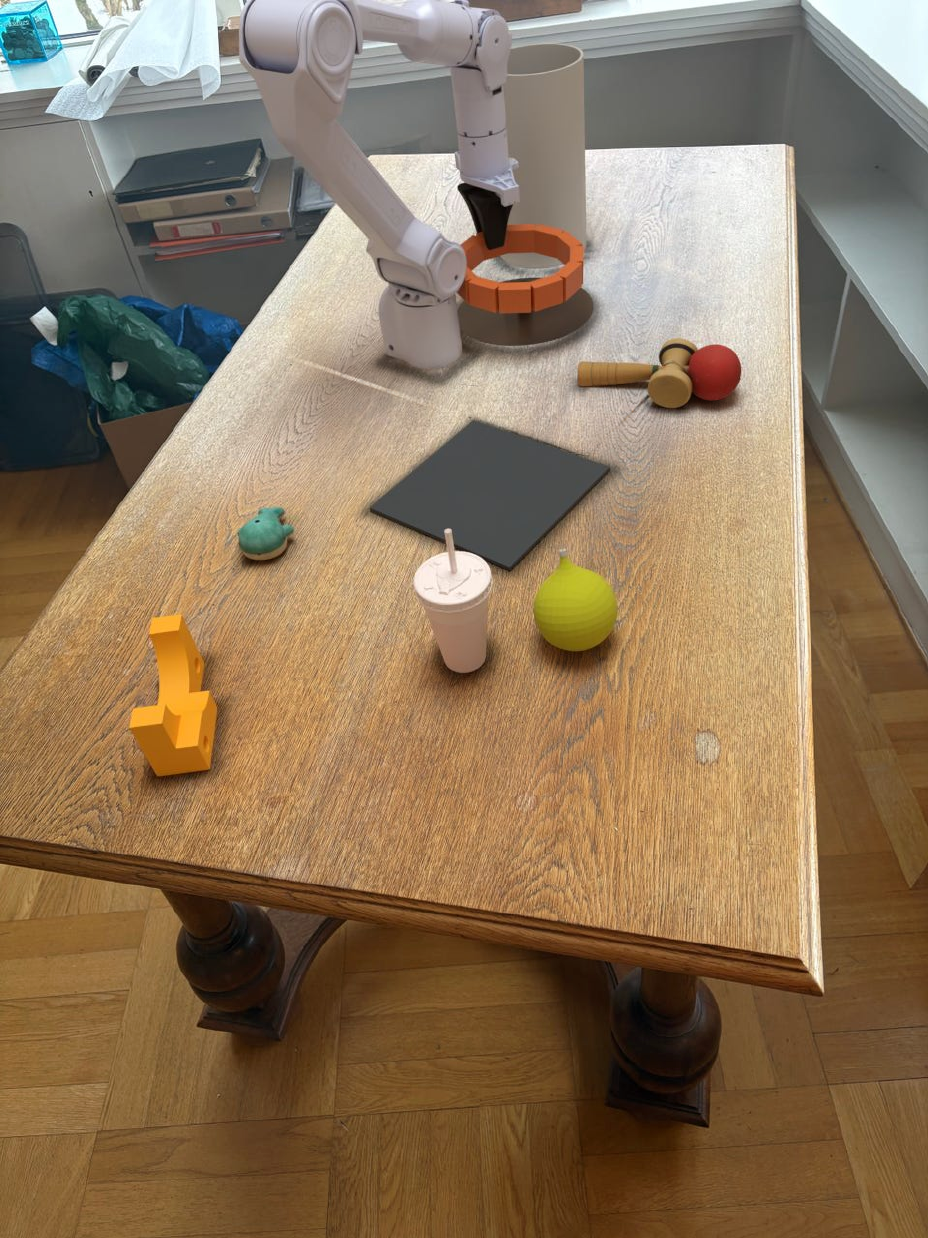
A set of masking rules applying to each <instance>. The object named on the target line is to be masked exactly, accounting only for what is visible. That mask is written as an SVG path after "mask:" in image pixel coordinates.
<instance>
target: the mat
mask: <svg viewBox="0 0 928 1238" xmlns="http://www.w3.org/2000/svg"><path fill="white" fill-rule="evenodd" d="M610 471H611V467H610V466H609V465H606V464H603V463H600V462H598V461H594V460H592V459H589V458H586V457H583V456H580V455H578V454H574V453H571V452H568V451H565V450H562V449H560V448H556V447H553V446H550V445H547V444H545V443H542V442H538V441H536V440H533V439H530V438H527V437H524V436H522V435H518V434H515V433H513V432H510V431H507V430H504V429H501V428H498V427H495V426H492V425H489V424H486V423H484V422H481V421H477V420H475V419H472V420H471V421H470V422H469V423H468V424H466V425H465V426H464V427H463V428H462V429H461V430H459V431H458V432H457V433H456V434H454V436H452V437H451V438H450V439H448V441H446V442H445V443H444V444H443V445H441V446H440V447H439V448H438V449H436V451H435V452H433V453H432V454H431V455H430V456H429V457H428V458H426V459H425V460H424V461H423V462H422V463H420V464H419V465H418V466H416V467H415V468H414V469H413V470H412V471H411V472H410V473H408V474H407V475H406V476H405V477H404V478H402V480H400V481H399V482H398V483H397V484H395V485H394V486H393V487H392V488H391V489H390V490H388V491H386V493H385V494H384V495H383V496H381V497H380V498H378V500H377V501H375V502H374V503H373V504H372V505H370V506H369V510H370V512H372V513H374V514H376V515H379V516H381V517H383V518H385V519H388V520H390V521H393V522H395V523H397V524H399V525H402V526H405V527H406V528H408V529H412V530H414V531H416V532H418V533H421V534H423V535H425V536H428V537H430V538H432V539H435V540H437V541H439V542H442V543H444V544H446V538H445V532H444V531H445V530H446V529H451V530H452V537H453V543H454V549H458V550H459V551H462V552H469V553H472V554H475V555H477V556H479V557H481V558H482V559H483V560H485V561H486V562H488V563H490V564H492V565H495V566H497V567H500V568H502V569H505V570H507V571H509V572H511V571H512V570H513V569H514V568H515V567H516V566H517V565H518V564H519V563H520V562H521V561H522V560H523V559H524V558H525V557H526V556H527V555H528V554H529V553H530V552H531V551H532V550H533V549H534V548H535V547H536V546H537V545H538V544H539V542H540V541H542V540H543V539H544V538H545V537H546V535H548V533H550V531H552V530H553V529H554V527H556V526H557V524H558V523H560V521H561V520H563V518H565V516H566V515H568V513H569V512H571V510H572V509H573V508H575V506H576V505H577V504H578V503H580V501H581V500H582V499H583V498H584V497H585V496H586V495H587V494H588V493H589V492H590V491H591V490H592V489H593V488H594V487H595V486H596V485H597V484H598V483H599V482H600V481H601V480H602V479H603V478H605V476H606V475H607V474H608V473H609V472H610Z"/></svg>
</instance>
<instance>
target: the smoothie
mask: <svg viewBox="0 0 928 1238" xmlns="http://www.w3.org/2000/svg"><path fill="white" fill-rule="evenodd" d="M444 532H445V538H446V543H445V544H446V550H447V551H445V552H441V553H439V554H436V555H433V556H432V557H429V558H428V559H426V560H425V561H424V562H423V563H421V565H420V566H419V567H418V568H417V569H416V571H415V573H414V576H413V586H414V587H413V588H414V595H415V597H416V599H417V601H418V602H419V603H420V604H421V606H423V608H424V611H425V613H426V617H427V619H428V622H429V624H430V627H431V629H432V632H433V635H434V638H435V640H436V644H437V646H438V648H439V651H440V653H441V654H440V655H441V656H442V659H443V661H444V664H445V665H446V667H447V668H448V669H449V670H451V671H453V672H455V673H460V674H464V673H465V674H466V673H471V672H474V671H476V670H478V669H480V668H481V667H482V666H483V665H484V663H485V662H486V658H487V646H488V645H487V641H488V618H489V601H490V599H489V598H490V597H489V594H490V593H491V592H492V589H493V584H494V581H493V575H492V570H491V567H490V565H489V563H487V561H486V560H483V559H482V558H481V557H479V556H477V555H475V554H472V553H469V552H465V551H462V550H455V547H454V543H453V537H452V530H451V529H446V530H445V531H444Z"/></svg>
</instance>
